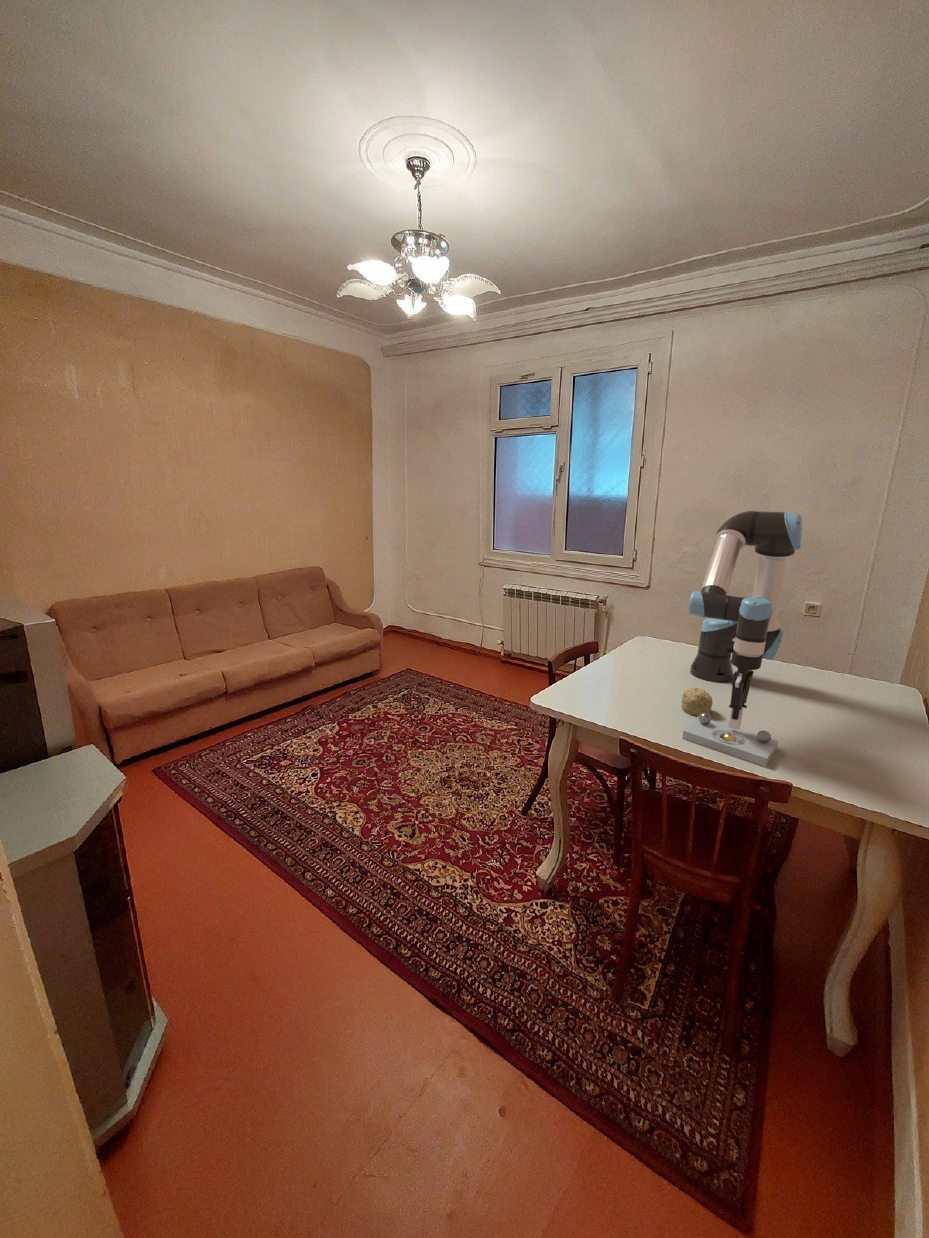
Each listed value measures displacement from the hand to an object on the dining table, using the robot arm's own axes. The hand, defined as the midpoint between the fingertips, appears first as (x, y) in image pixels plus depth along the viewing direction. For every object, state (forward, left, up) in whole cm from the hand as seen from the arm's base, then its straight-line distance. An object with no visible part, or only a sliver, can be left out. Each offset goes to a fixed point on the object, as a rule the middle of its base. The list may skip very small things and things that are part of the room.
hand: (734, 727), depth 149 cm
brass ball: (+5, 0, -2) cm, 5 cm away
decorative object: (-12, -14, -4) cm, 19 cm away
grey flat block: (+4, 0, -4) cm, 5 cm away
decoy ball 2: (+1, +8, +1) cm, 8 cm away
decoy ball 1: (+1, -8, +1) cm, 8 cm away
